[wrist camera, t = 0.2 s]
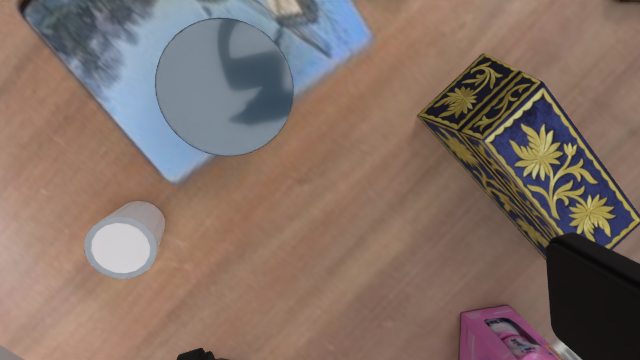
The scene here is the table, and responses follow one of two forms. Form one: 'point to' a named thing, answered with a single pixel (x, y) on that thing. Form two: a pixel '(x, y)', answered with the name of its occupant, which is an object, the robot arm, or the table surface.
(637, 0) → the framed icon painting
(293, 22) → the table surface
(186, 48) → the stand
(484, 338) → the gum box
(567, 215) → the decorative box
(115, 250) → the shot glass
